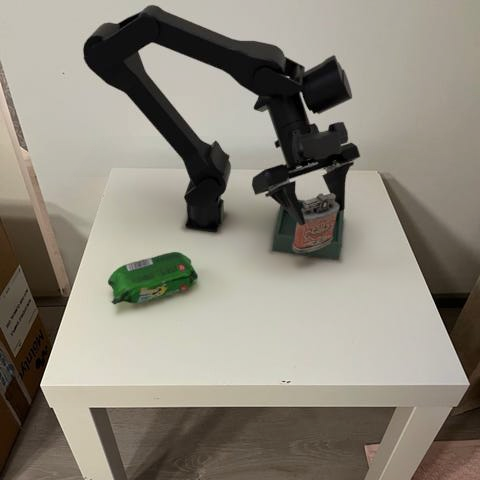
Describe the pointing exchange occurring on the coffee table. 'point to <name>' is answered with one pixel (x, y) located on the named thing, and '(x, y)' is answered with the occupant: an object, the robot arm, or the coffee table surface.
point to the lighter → (316, 223)
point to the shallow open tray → (287, 230)
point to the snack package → (152, 278)
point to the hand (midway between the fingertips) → (322, 217)
